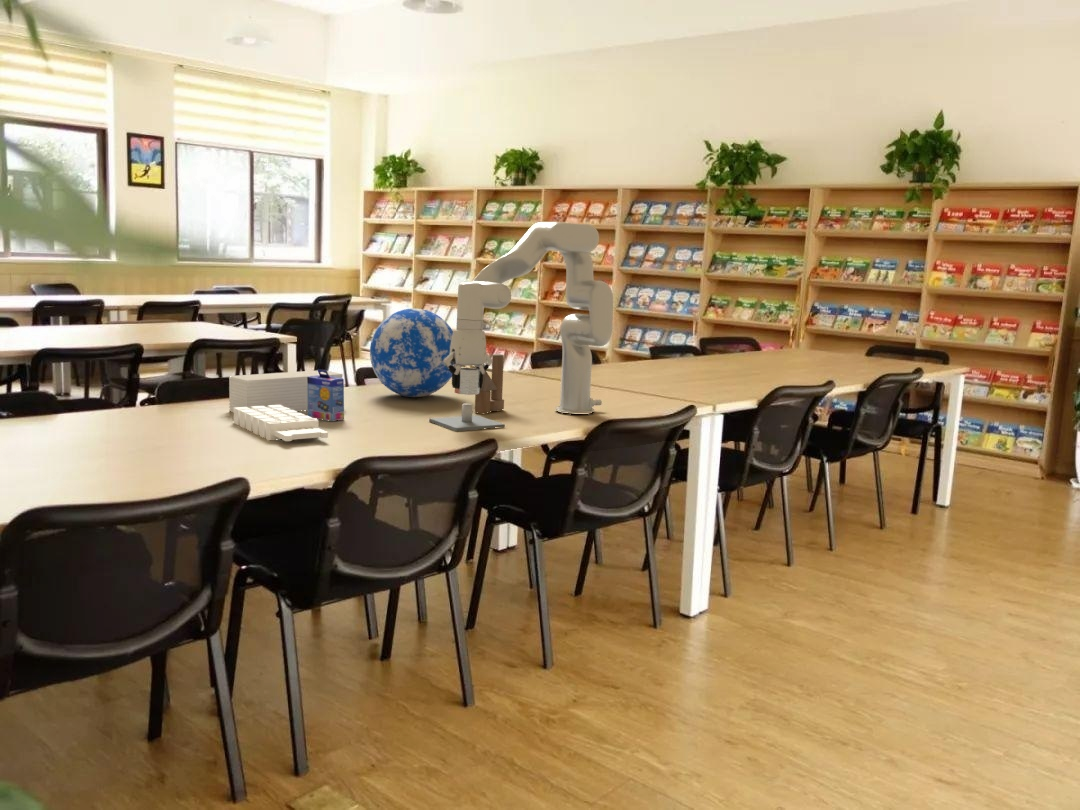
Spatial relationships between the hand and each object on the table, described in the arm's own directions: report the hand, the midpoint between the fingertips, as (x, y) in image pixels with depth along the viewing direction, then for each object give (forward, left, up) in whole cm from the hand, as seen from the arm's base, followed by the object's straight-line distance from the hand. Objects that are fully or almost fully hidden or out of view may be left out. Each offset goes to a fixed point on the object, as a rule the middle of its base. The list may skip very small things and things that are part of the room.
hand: (467, 387), depth 273 cm
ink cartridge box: (+34, -23, -11) cm, 42 cm away
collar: (0, 0, -2) cm, 2 cm away
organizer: (+52, -8, -12) cm, 54 cm away
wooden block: (-18, -17, -11) cm, 27 cm away
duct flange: (0, 0, -11) cm, 11 cm away
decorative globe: (-9, -52, -11) cm, 54 cm away
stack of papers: (+38, -42, -12) cm, 58 cm away
